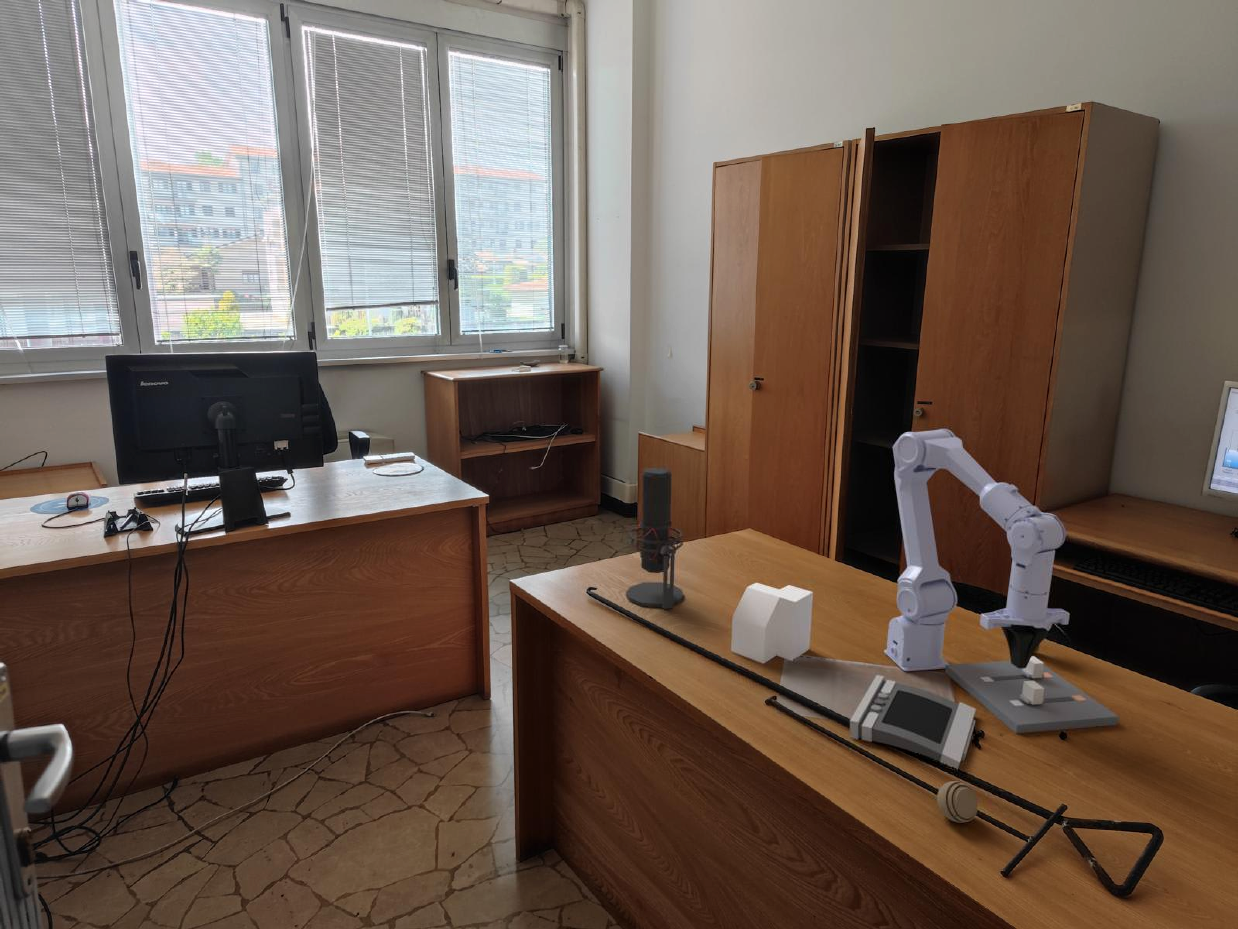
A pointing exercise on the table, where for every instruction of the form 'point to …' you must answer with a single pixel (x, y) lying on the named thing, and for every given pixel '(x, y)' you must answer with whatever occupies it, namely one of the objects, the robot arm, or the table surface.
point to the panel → (1001, 696)
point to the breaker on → (1034, 668)
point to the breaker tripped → (1032, 693)
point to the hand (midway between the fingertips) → (1018, 665)
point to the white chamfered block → (772, 623)
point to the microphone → (656, 542)
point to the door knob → (957, 801)
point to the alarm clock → (914, 721)
